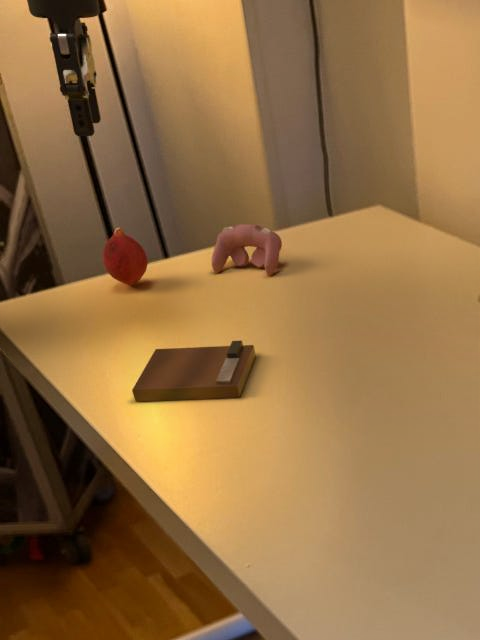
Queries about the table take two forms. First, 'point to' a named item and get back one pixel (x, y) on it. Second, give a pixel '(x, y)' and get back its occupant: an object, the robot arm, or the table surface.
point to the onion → (124, 258)
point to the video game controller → (241, 237)
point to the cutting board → (195, 373)
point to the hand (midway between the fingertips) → (88, 129)
